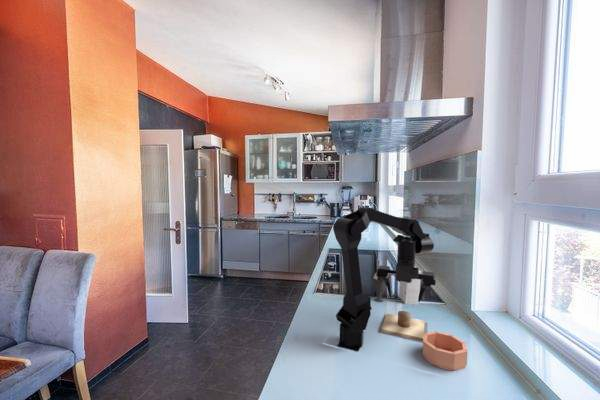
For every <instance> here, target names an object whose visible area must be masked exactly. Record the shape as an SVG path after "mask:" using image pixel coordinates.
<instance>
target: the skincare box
mask: <svg viewBox="0 0 600 400" xmlns="http://www.w3.org/2000/svg"><path fill="white" fill-rule="evenodd" d="M415 268H417V267H416V266H415ZM419 274H422V271H421V270H419ZM421 281H422V280H420V279H412V282H411V283H407V282H403V281H399V294H398V297H399V299H401V301H402V302H403V303H404V305H409V306H410V305H411V306H419V304H420V302H418V297H419V291H420V286H421Z"/></svg>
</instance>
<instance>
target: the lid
mask: <svg viewBox="0 0 600 400" xmlns="http://www.w3.org/2000/svg"><path fill="white" fill-rule="evenodd" d="M425 323H426V322H425V320H423V319H417V318H412V317H411V313H410V312H409V311H405V310H399V311H398V312H397V314H392V313H388V312H387V313H386V318H385V320H384V323H383V326H382V329H381V332H385V333H389V334H393V335H398V336H402V337H406V338H411V339H415V340H419V341H423V336H424V324H425Z"/></svg>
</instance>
